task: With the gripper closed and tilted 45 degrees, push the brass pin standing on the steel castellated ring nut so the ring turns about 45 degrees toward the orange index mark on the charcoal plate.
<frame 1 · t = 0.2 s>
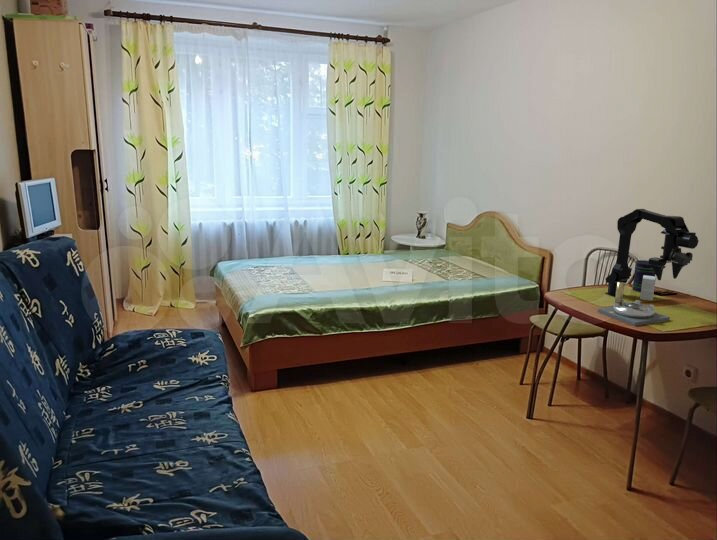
hand: (667, 279, 234), 15 cm above the table, tool pointing down, fingers open, 9 cm apart
small box: (646, 298, 258), on the table
storage jar: (642, 290, 271), on the table
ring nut: (634, 299, 229), point 8 cm above the table, hinge at 0.0°
housing plate: (632, 316, 231), on the table
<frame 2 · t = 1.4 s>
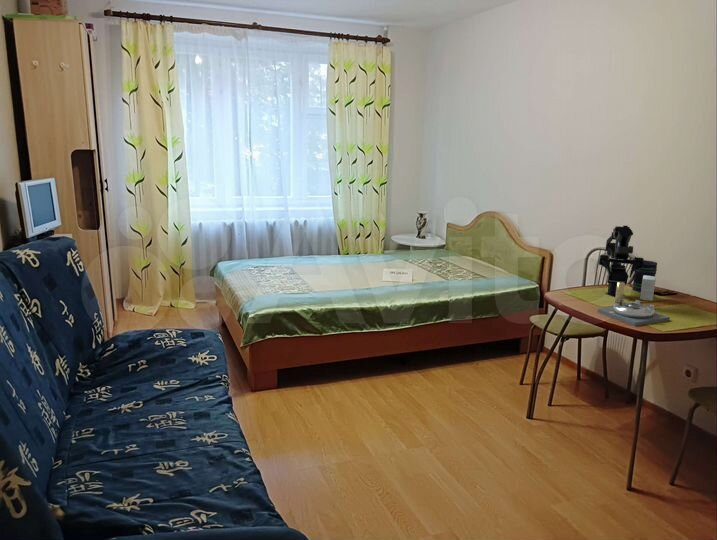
hand: (619, 276, 245), 13 cm above the table, tool tilted 45°, fingers open, 8 cm apart
nothing on the table moved.
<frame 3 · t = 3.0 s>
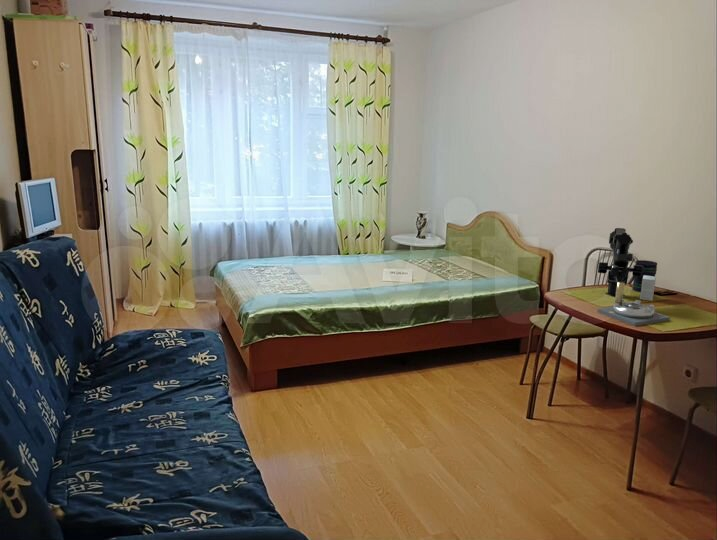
hand: (619, 284, 241), 11 cm above the table, tool tilted 45°, fingers closed
nothing on the table moved.
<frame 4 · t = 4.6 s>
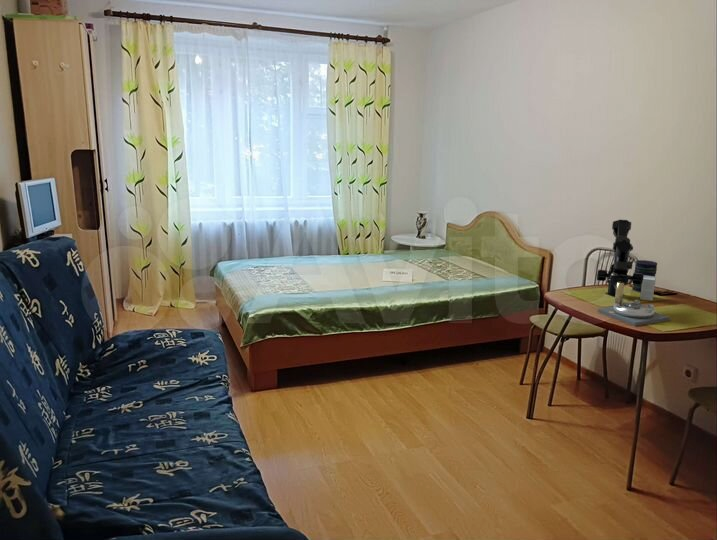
hand: (618, 292, 235), 9 cm above the table, tool tilted 45°, fingers closed, pressing on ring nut
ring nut: (634, 299, 229), point 8 cm above the table, hinge at 3.5°, touching gripper
everything else where it was.
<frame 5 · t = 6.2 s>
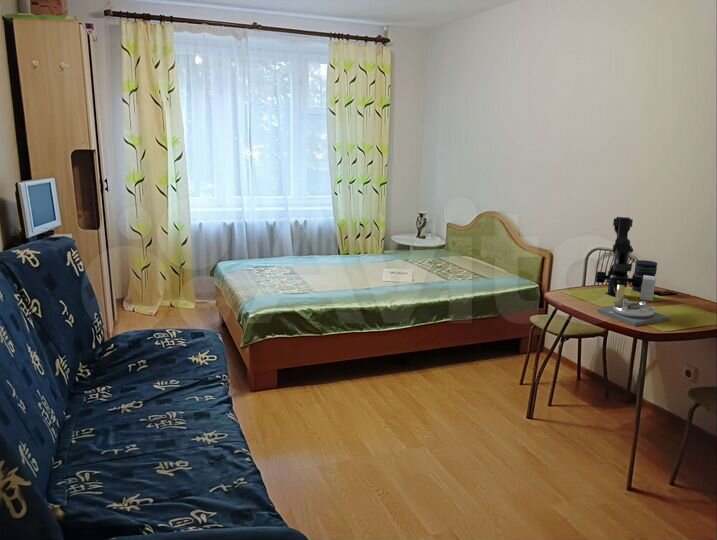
hand: (616, 295, 231), 9 cm above the table, tool tilted 45°, fingers closed
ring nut: (634, 299, 229), point 8 cm above the table, hinge at 41.9°, touching gripper
everything else where it was.
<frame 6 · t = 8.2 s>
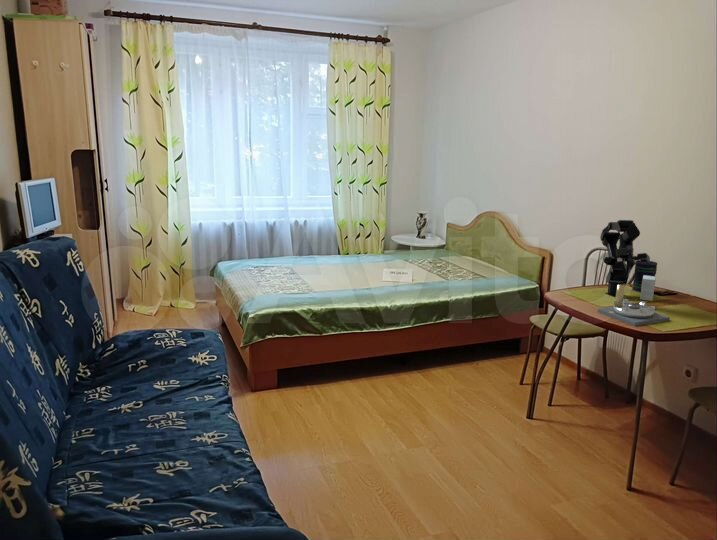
hand: (626, 276, 245), 13 cm above the table, tool tilted 30°, fingers closed
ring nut: (634, 299, 229), point 8 cm above the table, hinge at 41.9°
everything else where it was.
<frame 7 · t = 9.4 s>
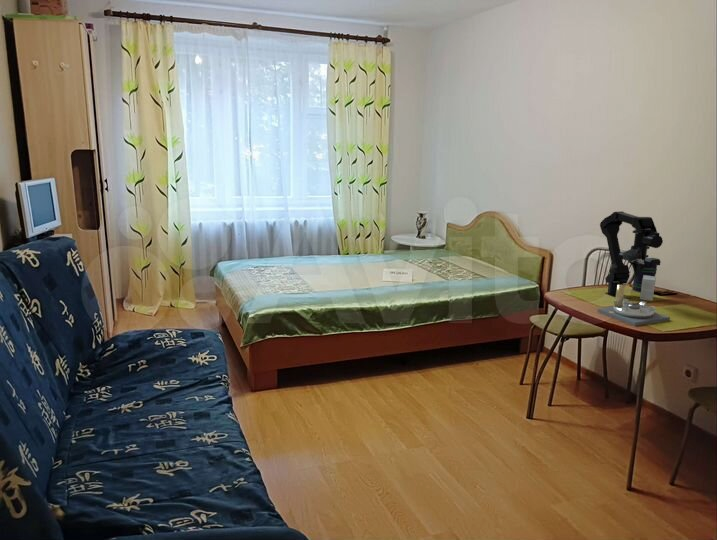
hand: (636, 276, 247), 13 cm above the table, tool pointing down, fingers closed
nothing on the table moved.
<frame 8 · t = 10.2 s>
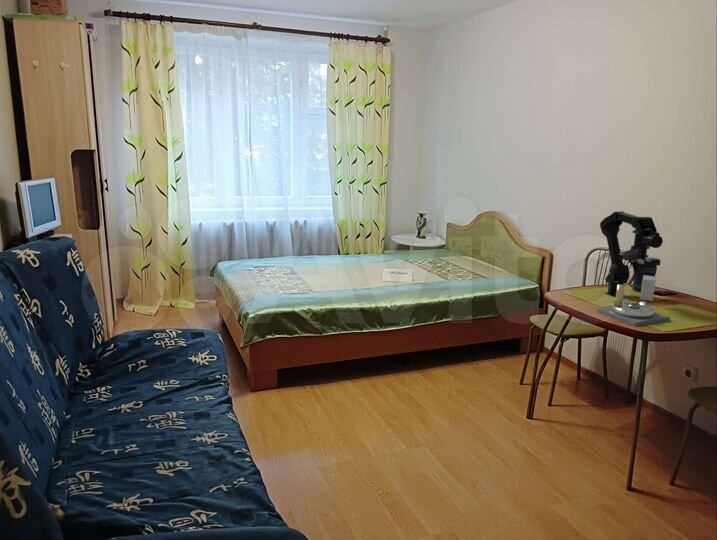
hand: (636, 276, 247), 13 cm above the table, tool pointing down, fingers closed
nothing on the table moved.
at the end: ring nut at +42° (first picture: +0°); small box moved 0.3 cm from its start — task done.
